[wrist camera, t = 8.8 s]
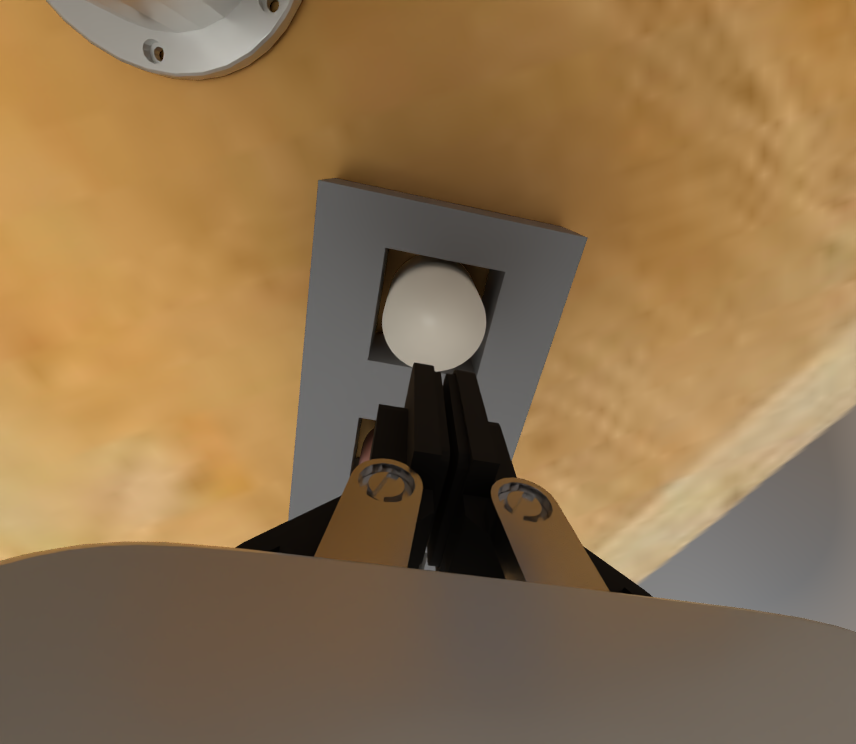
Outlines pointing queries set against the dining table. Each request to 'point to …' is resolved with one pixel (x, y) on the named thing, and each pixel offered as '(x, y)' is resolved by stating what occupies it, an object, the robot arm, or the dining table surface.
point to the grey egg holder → (367, 350)
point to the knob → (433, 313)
